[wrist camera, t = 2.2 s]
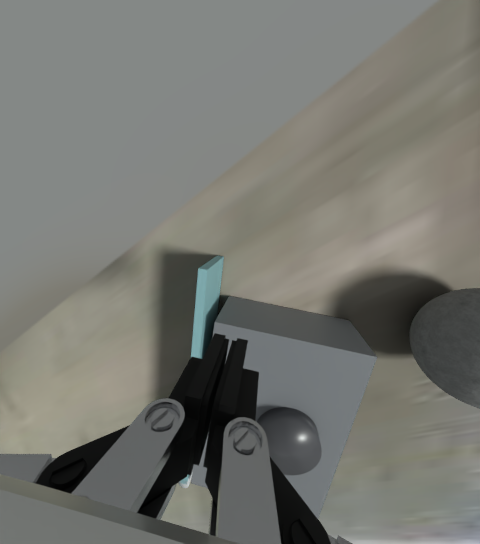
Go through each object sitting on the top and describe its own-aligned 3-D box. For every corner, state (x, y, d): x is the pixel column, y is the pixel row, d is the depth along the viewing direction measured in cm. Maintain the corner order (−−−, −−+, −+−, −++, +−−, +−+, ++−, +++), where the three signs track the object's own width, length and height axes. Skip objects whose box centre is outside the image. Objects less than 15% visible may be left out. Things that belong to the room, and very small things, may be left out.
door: (205, 433, 32) (188, 489, 25) (197, 431, 32) (178, 486, 25) (225, 256, 26) (209, 270, 19) (215, 255, 26) (195, 267, 19)
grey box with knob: (307, 453, 31) (320, 540, 22) (208, 426, 32) (185, 500, 24) (349, 320, 26) (386, 369, 17) (229, 295, 27) (209, 330, 19)
